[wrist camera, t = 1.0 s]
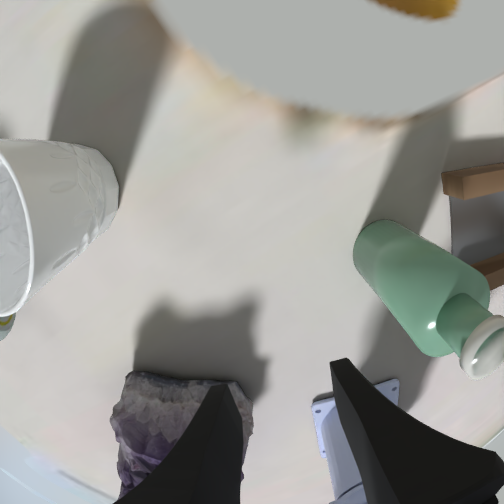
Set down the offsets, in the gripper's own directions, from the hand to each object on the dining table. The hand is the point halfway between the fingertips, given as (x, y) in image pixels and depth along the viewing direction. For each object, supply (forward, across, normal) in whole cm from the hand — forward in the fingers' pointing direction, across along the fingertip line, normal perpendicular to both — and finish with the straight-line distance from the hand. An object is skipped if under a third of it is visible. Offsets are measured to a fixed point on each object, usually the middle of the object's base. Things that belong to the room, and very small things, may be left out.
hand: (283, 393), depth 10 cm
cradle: (+10, -18, 0) cm, 21 cm away
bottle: (+10, -8, 0) cm, 13 cm away
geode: (+11, +12, +14) cm, 21 cm away
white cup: (+11, +11, -9) cm, 18 cm away
